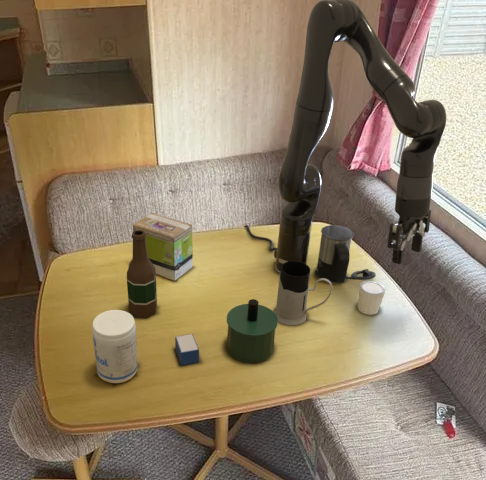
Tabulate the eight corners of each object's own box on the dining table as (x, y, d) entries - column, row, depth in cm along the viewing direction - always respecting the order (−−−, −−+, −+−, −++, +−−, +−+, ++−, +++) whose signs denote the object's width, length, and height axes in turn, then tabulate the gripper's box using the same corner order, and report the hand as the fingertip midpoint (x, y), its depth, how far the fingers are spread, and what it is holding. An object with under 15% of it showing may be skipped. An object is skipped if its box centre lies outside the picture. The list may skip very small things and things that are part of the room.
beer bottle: (162, 306, 152) (160, 229, 139) (148, 321, 146) (144, 243, 133) (138, 298, 155) (133, 222, 141) (123, 314, 149) (116, 235, 136)
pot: (221, 336, 141) (222, 310, 137) (263, 329, 144) (265, 303, 140) (235, 366, 132) (237, 338, 128) (279, 358, 135) (283, 331, 130)
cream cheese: (175, 349, 137) (175, 336, 135) (192, 346, 138) (192, 333, 136) (181, 365, 132) (181, 352, 130) (199, 362, 133) (199, 349, 131)
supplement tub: (88, 371, 130) (81, 322, 122) (119, 351, 136) (114, 303, 128) (116, 391, 125) (111, 341, 117) (146, 369, 131) (143, 320, 123)
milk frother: (309, 270, 169) (314, 227, 160) (352, 260, 174) (359, 218, 166) (335, 295, 158) (343, 250, 150) (380, 284, 163) (390, 240, 155)
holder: (278, 302, 154) (283, 256, 146) (329, 314, 150) (337, 268, 142) (269, 320, 147) (274, 273, 139) (322, 333, 143) (330, 285, 135)
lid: (220, 311, 137) (220, 291, 134) (266, 303, 140) (268, 283, 137) (235, 342, 127) (236, 321, 124) (285, 333, 130) (288, 313, 127)
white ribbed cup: (381, 317, 149) (386, 296, 146) (355, 314, 150) (359, 293, 147) (380, 303, 155) (384, 282, 151) (355, 299, 156) (359, 279, 152)
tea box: (193, 267, 169) (193, 224, 161) (174, 282, 162) (173, 238, 154) (154, 252, 176) (152, 210, 168) (134, 266, 169) (131, 223, 160)
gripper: (415, 181, 132) (408, 243, 139) (381, 197, 124) (376, 262, 131) (445, 187, 127) (436, 251, 134) (412, 205, 119) (404, 272, 126)
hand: (406, 256), depth 133 cm, fingers open, 8 cm apart
